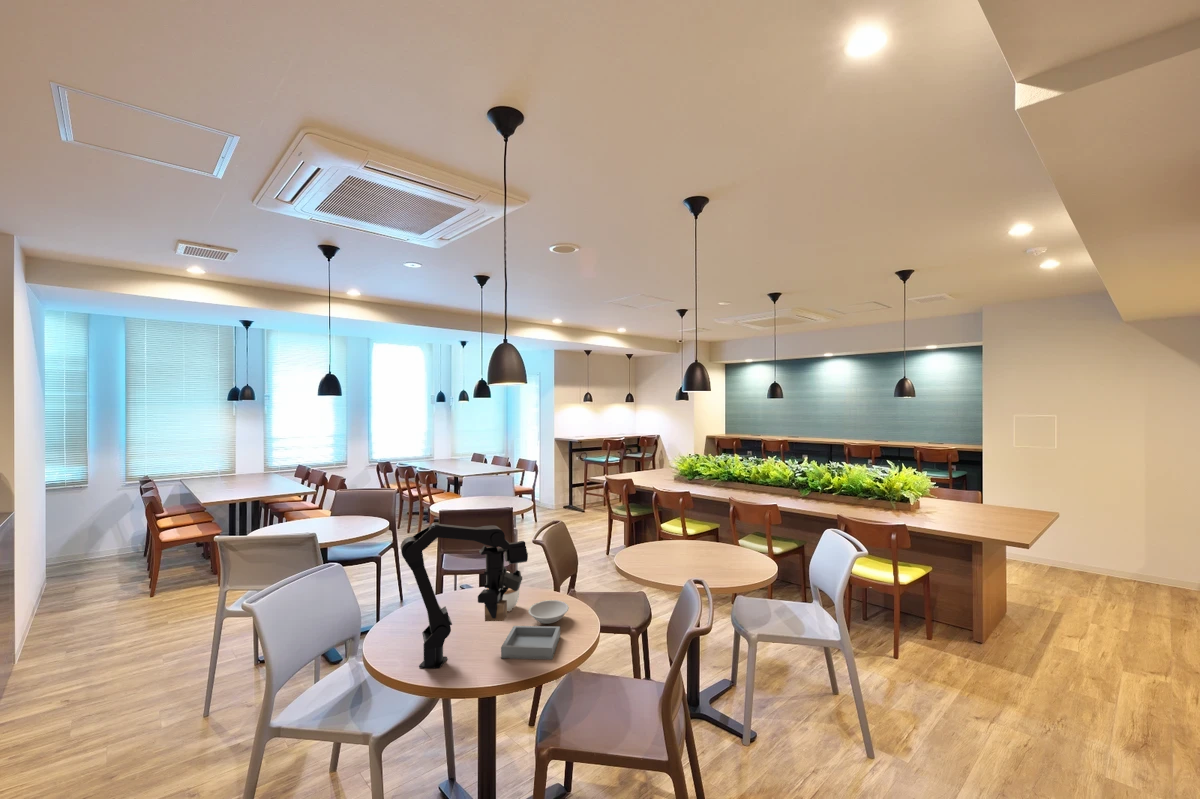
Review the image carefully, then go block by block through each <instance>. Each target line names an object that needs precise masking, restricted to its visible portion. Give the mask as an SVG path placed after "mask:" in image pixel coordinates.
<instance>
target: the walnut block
mask: <svg viewBox="0 0 1200 799" xmlns="http://www.w3.org/2000/svg"><path fill="white" fill-rule="evenodd" d="M507 617H508V612H507V600H500V601H499V602H498V606H497V614H496V618H492V617H491V615H490V613H489V611H488V609H487V607H486V606H485V605H484V622H504V621H505V620H506V618H507Z"/></svg>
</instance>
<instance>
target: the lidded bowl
mask: <svg viewBox="0 0 1200 799" xmlns="http://www.w3.org/2000/svg"><path fill="white" fill-rule="evenodd" d="M520 587H521V586H520ZM520 587H519V589H518V590H517V591H514V590H512V589H510V588H509V589H508V590H507V591H506V592H505V593H504V595H503V600H507V611H509V612H511V611H513V609H514V608H515V607H516V605H517V603H518V601H519V597H520ZM486 589H489V588H486ZM512 608H513V609H512ZM510 610H511V611H510Z"/></svg>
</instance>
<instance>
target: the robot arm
mask: <svg viewBox="0 0 1200 799" xmlns="http://www.w3.org/2000/svg"><path fill="white" fill-rule="evenodd" d="M505 537H506V536H505V533H504V531H503V530H502V528H500V527H499V526H497V525H491V524H490V525H482V526H477V527H473V526H466V525H464V526H463V525H453V524H446V523H445V524H443V523H438V522H432V523H431V524H429V526H427V527H426V528H423V529H422V530H419V532H417V533H416V534H414V535H413V536H408V537H406V538H404V539H403V540H402V541H401V544H400V551H401V555H402V558H403V559H404V561H405V562H406V564H407V566H408V567H409V569H411V571H412V574H413V576H414V579H415V581H416V584H417V587H418V589H419V592H420V595H421V598H422V601H423V604H424V606H425V609H426V612H427V618H428V626H427V627H426V628H425V629H424V630H423V631H422V633H421V634H422V638H423V639H422V640H423V660H422V662H421V663H420V664H419V665H418V667H419V668H420V669H422V668H424V669H439V668H441V667H442V666H443V665H444V663H445V662H446V661H447V659H448V656H447V655H445V656H444V643H445V642H446V639H447V638H448V637H449V635H450V634H451V632H452V629H451V628H452V627H451V626H452V625H453V623H452V620H451V616H449V613H448V609H447V606H443V607H441V606H440V605H439V602H438V600H437V597H436V593H435V591H434V588H433V586H432V583H431V581H430V578H429V574H428V573H427V570H426V567H425V560H424V555H423V551H424V550H425V549H427V548H428V547H429V546H430V545H431V544H432V543H433V542H434V541H436V540H437V539H439V538H440V539H450V540H451V539H452V540H463V541H472V542H477V543H480V544H483V546H482V548H480V549H479V551H478V552H479V554H480V555H481V556H484V555H485V570H484V573H483V575H484V576H485V581H486V582H485V584H484V588H483V590H481V592H480V593H479V594H478V595H477V603H478V604H483V605H484V607H485V606H486V607H487V609H488V611H489V613H490V615H491V617H492V618H496V614H497V606H498V602H499V601H500V600H503V595H504V593H505V592H506V591H507V590H508V589H509V588H510V589H512V590H514V591H517V590H518V589H519V590H520V588H519V587H521V584H522V582H523V576H522V572H521V570H518V569H516V570H515V571H513V573H512V572H507V570H508V569H507V567H506V566H505V562H508V564H509V565H512V564H515V565H516V564H521V563H527V562H528V559H529V558H528V557H529V556H528V554H529V552H528V550H527V546H526V542H525V541H524V540H519V541H514V542H509V541H508V540H507V539H506V538H505ZM487 546H489V547H487ZM487 588H489V589H487Z"/></svg>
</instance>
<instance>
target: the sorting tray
mask: <svg viewBox="0 0 1200 799" xmlns="http://www.w3.org/2000/svg"><path fill="white" fill-rule="evenodd" d="M559 638H560V639H561V626H554V625H553V626H549V625H548V626H544V625H543V626H542V625H541V626H539V625H538V626H537V625H532V626H531V625H513V626H512V628H511V629H510V631H509V633H508V635H507V636H506V638H505V640H504V641H503V643H502V645H501V646H500V650H501V651H500V656H501V658H500V659H505V658H510V659H511V660H515V659H518V660H553V658H554V656H555V653H556V650H557V648H556V647H558V645H557V644H559V641H560V639H559ZM513 658H514V659H513Z"/></svg>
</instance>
